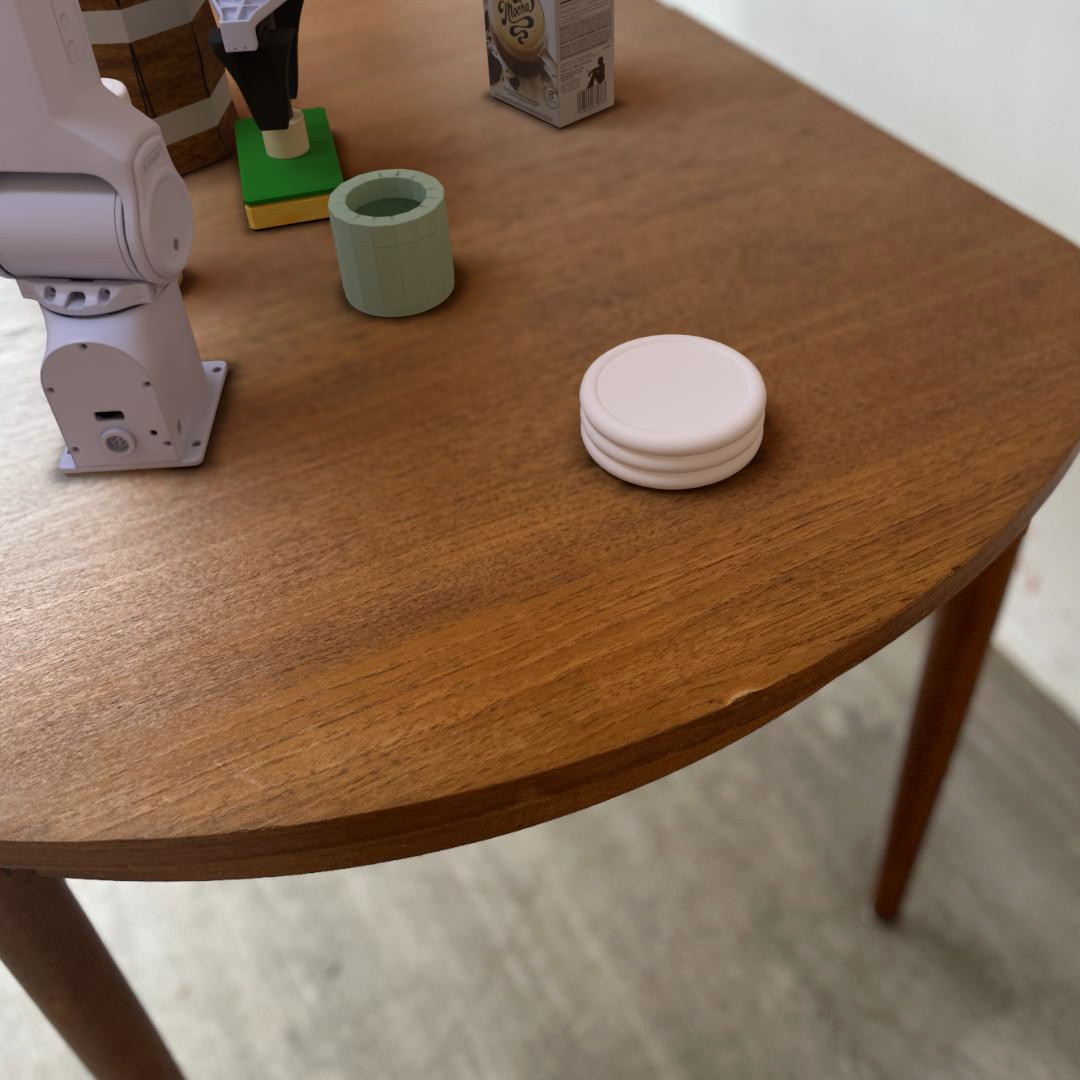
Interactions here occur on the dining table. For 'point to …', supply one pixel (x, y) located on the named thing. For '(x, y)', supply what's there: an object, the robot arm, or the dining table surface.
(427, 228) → the jar
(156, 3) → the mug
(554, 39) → the coffee box
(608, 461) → the white stacked discs
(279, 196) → the dish sponge
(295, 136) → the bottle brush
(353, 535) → the dining table surface
